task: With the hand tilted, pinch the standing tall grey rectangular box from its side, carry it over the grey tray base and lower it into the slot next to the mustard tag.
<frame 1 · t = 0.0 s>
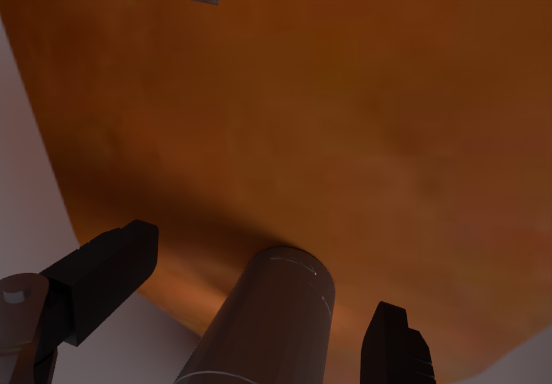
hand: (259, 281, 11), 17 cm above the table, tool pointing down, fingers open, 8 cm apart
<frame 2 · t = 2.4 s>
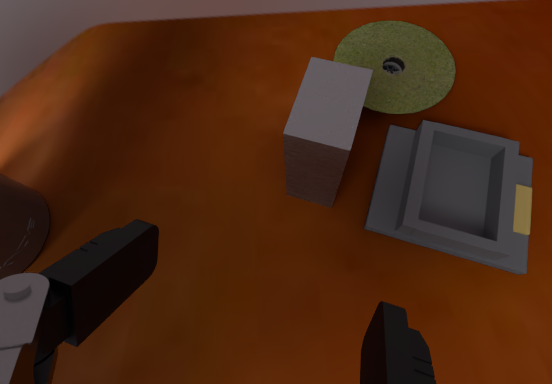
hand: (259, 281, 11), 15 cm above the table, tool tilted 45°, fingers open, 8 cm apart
mat: (387, 79, 32), on the table
tall grey rectangular box: (318, 171, 29), on the table
grey tray: (447, 194, 27), on the table
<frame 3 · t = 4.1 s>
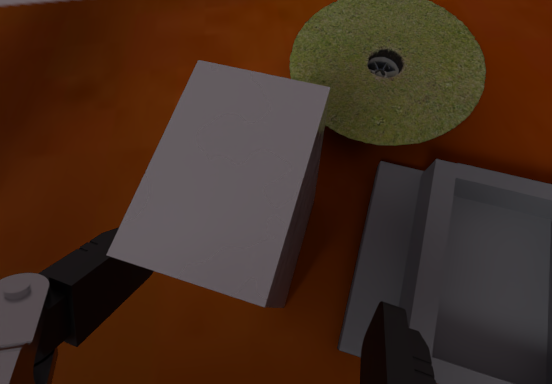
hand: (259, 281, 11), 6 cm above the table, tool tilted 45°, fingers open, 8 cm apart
mat: (376, 83, 21), on the table
tall grey rectangular box: (264, 241, 18), on the table
grey tray: (477, 283, 16), on the table
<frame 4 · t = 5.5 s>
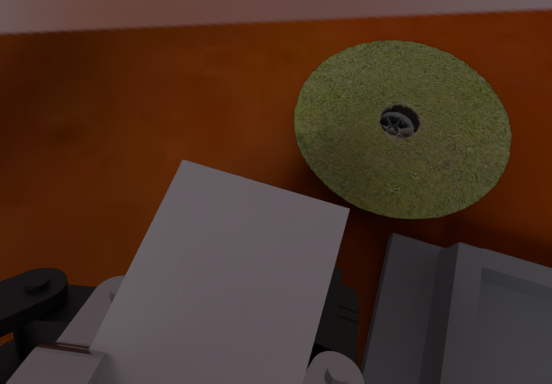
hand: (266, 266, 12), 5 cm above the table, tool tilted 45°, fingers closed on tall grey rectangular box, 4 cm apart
mat: (388, 139, 19), on the table
tall grey rectangular box: (259, 320, 15), on the table, touching gripper
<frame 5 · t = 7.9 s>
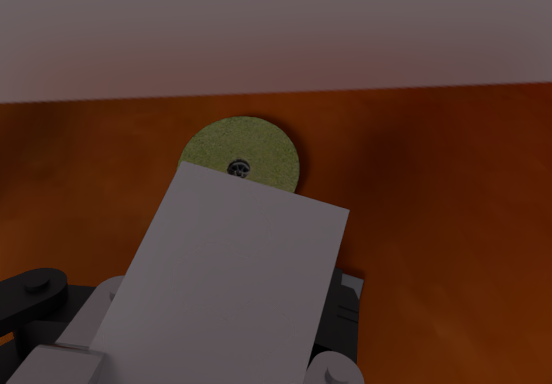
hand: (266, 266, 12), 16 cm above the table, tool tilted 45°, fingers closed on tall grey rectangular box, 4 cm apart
mat: (240, 177, 31), on the table
tall grey rectangular box: (259, 321, 15), point 11 cm above the table, touching gripper
when the fingers open (7 cm above the table, at t = 10.3 s): tall grey rectangular box drops 1 cm, resting on grey tray.
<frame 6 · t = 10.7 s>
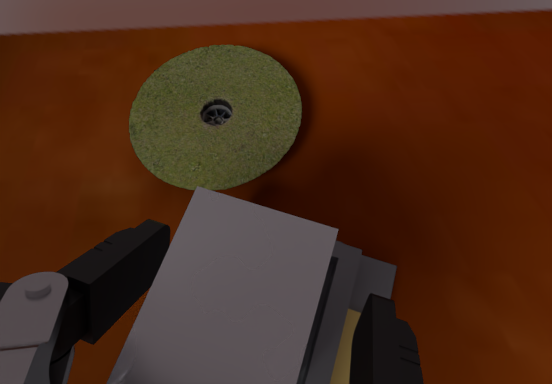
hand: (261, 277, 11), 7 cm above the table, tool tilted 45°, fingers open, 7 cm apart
mat: (221, 128, 23), on the table
tall grey rectangular box: (261, 321, 17), point 1 cm above the table, touching grey tray
grey tray: (264, 321, 18), on the table
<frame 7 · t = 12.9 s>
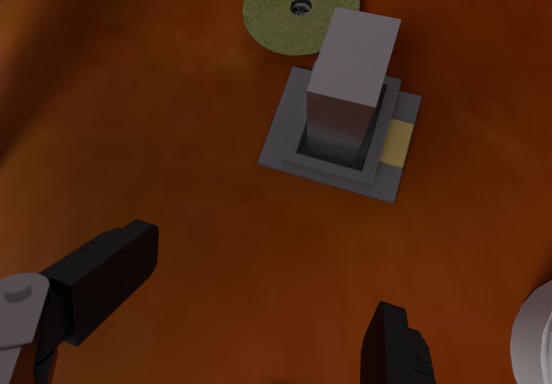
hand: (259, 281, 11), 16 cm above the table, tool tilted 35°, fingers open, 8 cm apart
mat: (300, 21, 33), on the table
tall grey rectangular box: (339, 129, 28), point 1 cm above the table, touching grey tray
grey tray: (339, 132, 29), on the table
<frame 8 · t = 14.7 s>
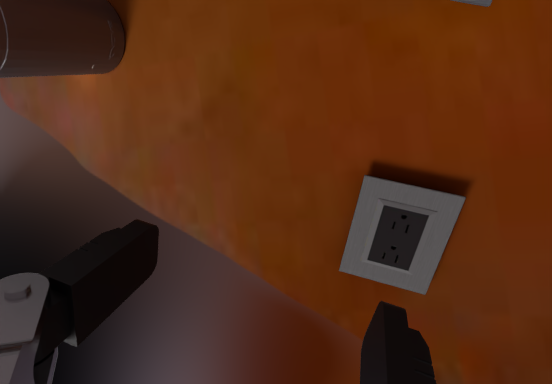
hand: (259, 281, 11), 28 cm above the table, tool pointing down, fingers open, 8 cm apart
electrical outlet: (395, 228, 39), on the table
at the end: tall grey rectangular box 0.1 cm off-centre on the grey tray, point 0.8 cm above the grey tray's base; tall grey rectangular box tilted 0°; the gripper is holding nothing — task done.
